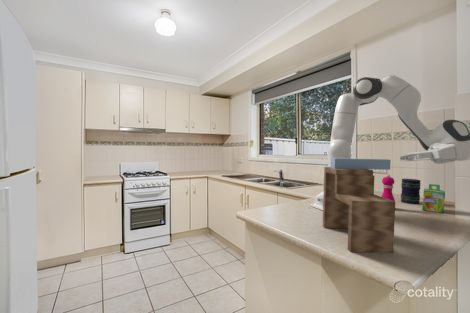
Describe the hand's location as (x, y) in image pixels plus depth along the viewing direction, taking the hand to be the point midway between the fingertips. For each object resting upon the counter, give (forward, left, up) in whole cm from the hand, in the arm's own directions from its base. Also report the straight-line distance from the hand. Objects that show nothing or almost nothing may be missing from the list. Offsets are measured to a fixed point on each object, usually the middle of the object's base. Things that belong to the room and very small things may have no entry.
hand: (408, 157), depth 98 cm
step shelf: (-5, -29, -31) cm, 42 cm away
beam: (-7, -21, -5) cm, 23 cm away
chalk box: (-10, +50, -31) cm, 60 cm away
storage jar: (-26, +60, -31) cm, 73 cm away
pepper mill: (-24, +30, -31) cm, 49 cm away
